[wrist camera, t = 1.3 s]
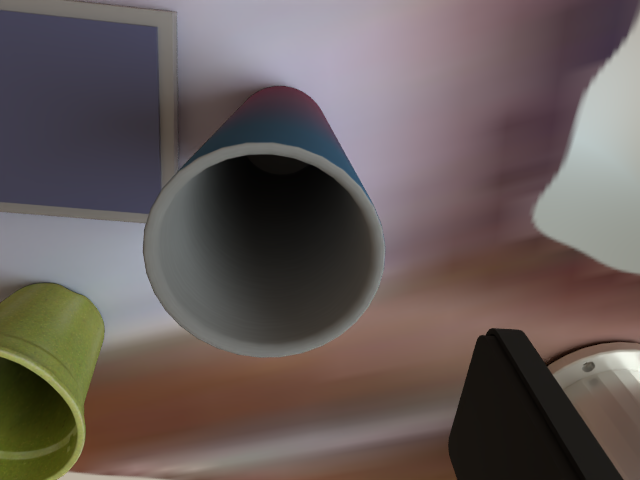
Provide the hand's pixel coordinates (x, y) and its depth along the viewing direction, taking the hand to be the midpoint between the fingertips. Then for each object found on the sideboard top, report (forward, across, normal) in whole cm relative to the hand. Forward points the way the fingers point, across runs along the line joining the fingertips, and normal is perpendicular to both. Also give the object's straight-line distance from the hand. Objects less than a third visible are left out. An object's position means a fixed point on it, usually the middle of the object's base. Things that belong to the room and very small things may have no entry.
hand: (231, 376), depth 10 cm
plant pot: (+20, +12, +14) cm, 28 cm away
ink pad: (+20, +10, 0) cm, 23 cm away
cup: (+20, -1, 0) cm, 21 cm away
